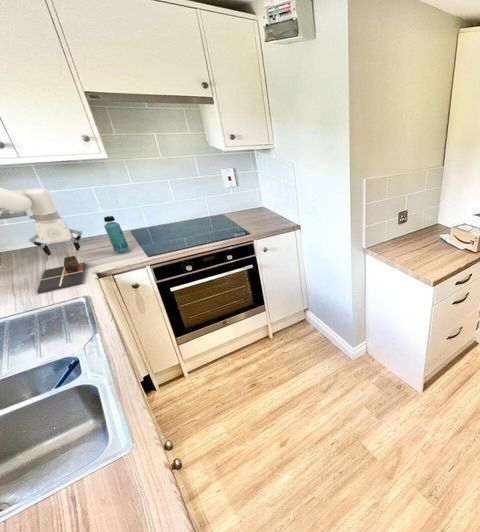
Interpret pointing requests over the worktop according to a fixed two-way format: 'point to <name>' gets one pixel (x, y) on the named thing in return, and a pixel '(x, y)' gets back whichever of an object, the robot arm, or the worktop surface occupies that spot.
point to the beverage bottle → (115, 235)
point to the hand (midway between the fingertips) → (64, 252)
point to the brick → (71, 264)
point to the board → (60, 278)
